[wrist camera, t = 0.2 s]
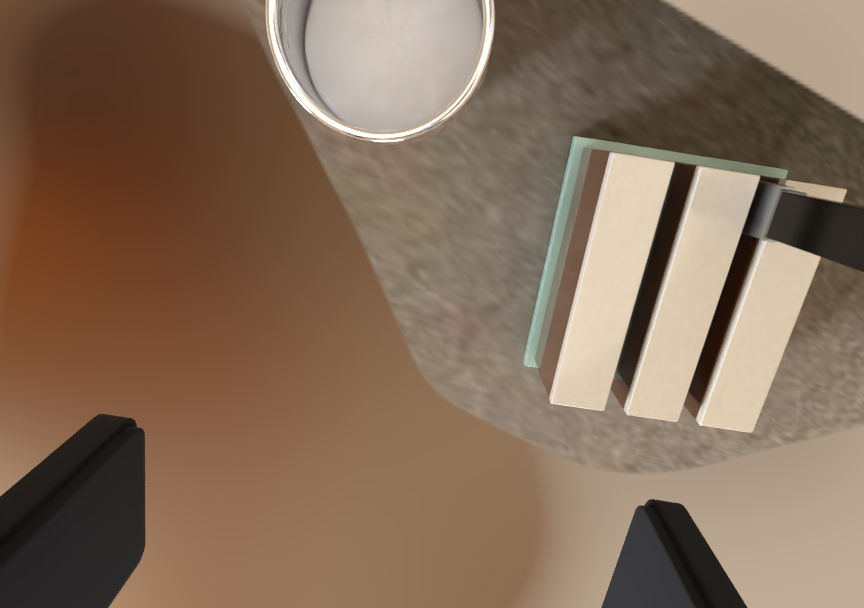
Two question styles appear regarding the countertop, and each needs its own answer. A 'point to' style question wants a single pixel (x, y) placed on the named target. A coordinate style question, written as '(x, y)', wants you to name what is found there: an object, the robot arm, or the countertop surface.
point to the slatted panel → (665, 286)
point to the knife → (807, 223)
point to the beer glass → (383, 62)
